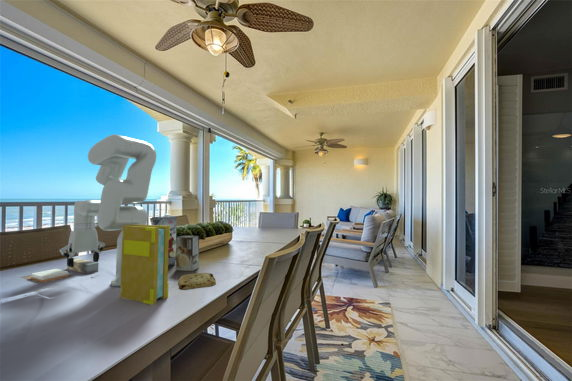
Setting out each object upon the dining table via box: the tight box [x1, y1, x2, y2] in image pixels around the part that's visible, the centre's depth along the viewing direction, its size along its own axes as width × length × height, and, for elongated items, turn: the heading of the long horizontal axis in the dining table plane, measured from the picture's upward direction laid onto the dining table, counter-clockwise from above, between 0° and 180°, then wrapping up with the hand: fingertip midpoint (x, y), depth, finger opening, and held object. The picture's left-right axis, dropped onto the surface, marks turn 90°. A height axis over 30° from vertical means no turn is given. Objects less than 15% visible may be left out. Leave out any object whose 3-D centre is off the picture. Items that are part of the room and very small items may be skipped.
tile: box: [30, 268, 69, 282], centre depth 99 cm, size 2×8×10 cm
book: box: [119, 224, 170, 306], centre depth 84 cm, size 17×7×25 cm, turn 71°
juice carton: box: [151, 213, 178, 268], centre depth 123 cm, size 9×10×27 cm
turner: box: [66, 258, 99, 275], centre depth 110 cm, size 18×4×5 cm, turn 65°
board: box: [21, 274, 73, 284], centre depth 100 cm, size 18×10×2 cm, turn 65°
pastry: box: [178, 272, 217, 290], centre depth 99 cm, size 17×17×3 cm
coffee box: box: [175, 235, 200, 272], centre depth 118 cm, size 9×6×16 cm
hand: (83, 264), depth 110 cm, fingers open, 9 cm apart
